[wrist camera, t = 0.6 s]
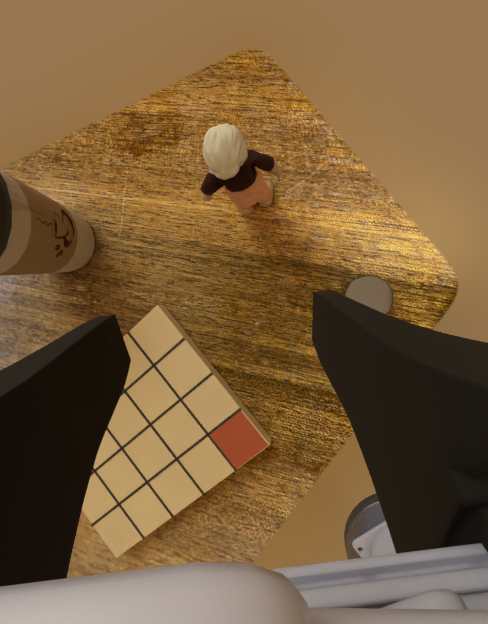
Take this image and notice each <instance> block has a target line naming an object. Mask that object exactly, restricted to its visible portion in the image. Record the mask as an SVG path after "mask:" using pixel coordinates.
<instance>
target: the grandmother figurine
mask: <svg viewBox="0 0 488 624" xmlns="http://www.w3.org/2000/svg"><path fill="white" fill-rule="evenodd" d="M203 157H204V160H205V163H206V165H207V166H208V167H209V169H210V171H209V173H208V174H207V176H206V178H205V179H204V181H203V183H202V186H201V191H202V193H201V197H202V199H203V200H204V201H209V200H211V198H212V195H213V193H215V192H216V191H217V190H218V189H219V188H221V187H223V186H224V189H225V191H226V193H227V194H228V196H229V198H230V199H231V200H232V201H233V202H234V203H235V204H236V206H237V207H238V209H239V211H240V212H241V214H243V215H249V214H250V213H252V212H253V210H254V204H256V203H257V202H258V204H259V205H260V206H261V207H267V206H270V205H271V203H272V199H273V185H272V184H271V183H270V182H268V181H265V180H264V177H263V176H262V174H261V172H260V171H259V170H257V169H256V168H255V167H258V168H260V169H262V170H264V171H268V172H270V173H272V174H273V175H275V176H279V175H281V174H282V172H283V167H282V165H281V164H279V163H277V162H276V161H275V160H274V158H272V157H271V156H268V155H265V154H261V153H259V152H256V151H254V150H247V145H246V142H245V141H244V137H243V135H242V134H241V133H240V132H239V130H238V129H237V128H236V127H235V126H233V125H229V124H227V123H226V124H221V125H218V126H215V127H211V128H210V129H209V130H208V132H207V133H206V135H205V138H204V143H203Z"/></svg>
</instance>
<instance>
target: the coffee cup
mask: <svg viewBox="0 0 488 624" xmlns="http://www.w3.org/2000/svg"><path fill="white" fill-rule="evenodd" d="M94 249H95V237H94V234H93V230H92V229H91V227H90V225H89V224H88V223H87V222H86V221H85V220H84V219H83V218H82V217H81V216H80V215H78V214H77V213H75V212H74V211H72V210H70V209H68V208H66V207H65V206H63V205H61V204H59V203H57V202H56V201H54V200H52V199H50V198H49V197H47V196H45V195H43V194H41V193H40V192H38V191H36V190H34V189H33V188H31V187H29V186H27V185H25V184H24V183H22V182H20V181H18V180H16V179H15V178H13V177H11V176H9V175H8V174H6V173H4V172H2V171H0V275H21V274H41V273H62V272H70V271H74V270H77V269H80V268H82V267H83V266H85V265H86V264H87V263H88V262H89V260H90V259H91V257H92V255H93V252H94Z"/></svg>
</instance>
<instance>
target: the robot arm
mask: <svg viewBox="0 0 488 624" xmlns="http://www.w3.org/2000/svg"><path fill="white" fill-rule="evenodd" d="M312 340H313V343H314V346H315V349H316V352H317V355H318V358H319V360H320V363H321V365H322V367H323V369H324V371H325V372H326V374H327V376H328V378H329V380H330V382H331V384H332V386H333V388H334V390H335V392H336V394H337V396H338V398H339V400H340V402H341V403H342V405H343V407H344V409H345V411H346V414H347V416H348V418H349V420H350V422H351V425H352V427H353V430H354V433H355V435H356V438H357V440H358V443H359V446H360V448H361V451H362V454H363V456H364V459H365V462H366V465H367V467H368V470H369V473H370V476H371V478H372V481H373V484H374V487H375V490H376V493H377V496H378V499H379V502H380V505H381V508H382V511H383V514H384V517H385V520H384V521H383V522H381V523H379V524H378V525H376V526H374V527H373V528H371V529H370V530H368V531H366V532H365V533H363V534H362V535H360V536H358V537H357V538H355V539H354V540H353V541H352V545H353V548H354V549H355V550H356V551H357V553H358V554H359V555H360V556H361V558H357V559H349V560H341V561H334V562H326V563H317V564H309V565H301V566H294V567H285V568H278V569H266V568H263V567H259V566H256V565H253V564H250V563H246V562H194V563H186V564H178V565H170V566H161V567H153V568H145V569H137V570H129V571H121V572H113V573H105V574H97V575H89V576H81V577H73V578H67V573H68V568H69V563H70V558H71V553H72V549H73V544H74V540H75V536H76V531H77V527H78V522H79V518H80V514H81V510H82V506H83V502H84V499H85V495H86V491H87V487H88V484H89V480H90V477H91V473H92V470H93V466H94V463H95V460H96V456H97V453H98V450H99V447H100V445H101V442H102V439H103V437H104V434H105V432H106V430H107V427H108V425H109V422H110V420H111V418H112V415H113V413H114V410H115V408H116V406H117V403H118V401H119V398H120V396H121V394H122V391H123V389H124V386H125V383H126V380H127V376H128V372H129V367H130V363H131V358H130V356H129V353H128V350H127V347H126V344H125V341H124V339H123V336H122V333H121V330H120V327H119V325H118V322H117V319H116V316H115V315H108V316H99V317H96V318H94V319H91V320H89V321H87V322H86V323H84V324H82V325H80V326H78V327H77V328H75V329H73V330H72V331H70V332H68V333H67V334H65V335H63V336H61V337H60V338H58V339H56V340H55V341H53V342H51V343H50V344H48V345H46V346H45V347H43V348H41V349H39V350H37V351H36V352H34V353H32V354H30V355H29V356H27V357H25V358H23V359H21V360H20V361H18V362H16V363H14V364H12V365H10V366H8V367H6V368H4V369H2V370H0V624H488V343H486V342H481V341H475V340H471V339H467V338H462V337H458V336H453V335H449V334H445V333H441V332H437V331H434V330H431V329H427V328H424V327H421V326H418V325H414V324H411V323H408V322H405V321H402V320H400V319H397V318H395V317H392V316H389V315H387V314H384V313H382V312H379V311H377V310H375V309H372V308H370V307H368V306H366V305H364V304H361V303H359V302H357V301H355V300H353V299H351V298H348V297H346V296H344V295H342V294H339V293H337V292H334V291H331V290H327V291H318V292H313V326H312ZM359 547H361V549H359Z"/></svg>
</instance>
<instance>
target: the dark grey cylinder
mask: <svg viewBox="0 0 488 624" xmlns="http://www.w3.org/2000/svg"><path fill="white" fill-rule="evenodd" d="M341 294H342V295H344V296H346V297H348V298H351V299H353V300H355V301H357V302H359V303H361V304H364V305H366V306H368V307H370V308H372V309H375V310H377V311H379V312H382V313H384V314H387V313H388V312H389V310H390V309H391V307H392V304H393V292H392V289H391V287H390V286H389V284H388V283H387V282H386V281H385V280H383V279H382V278H380V277H377V276H373V275H366V276H361V277H358V278H355V279H353V280H351V281H350V282H348V283H347V284H346V285H345V286H344V288H343V289H342V292H341Z"/></svg>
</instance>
